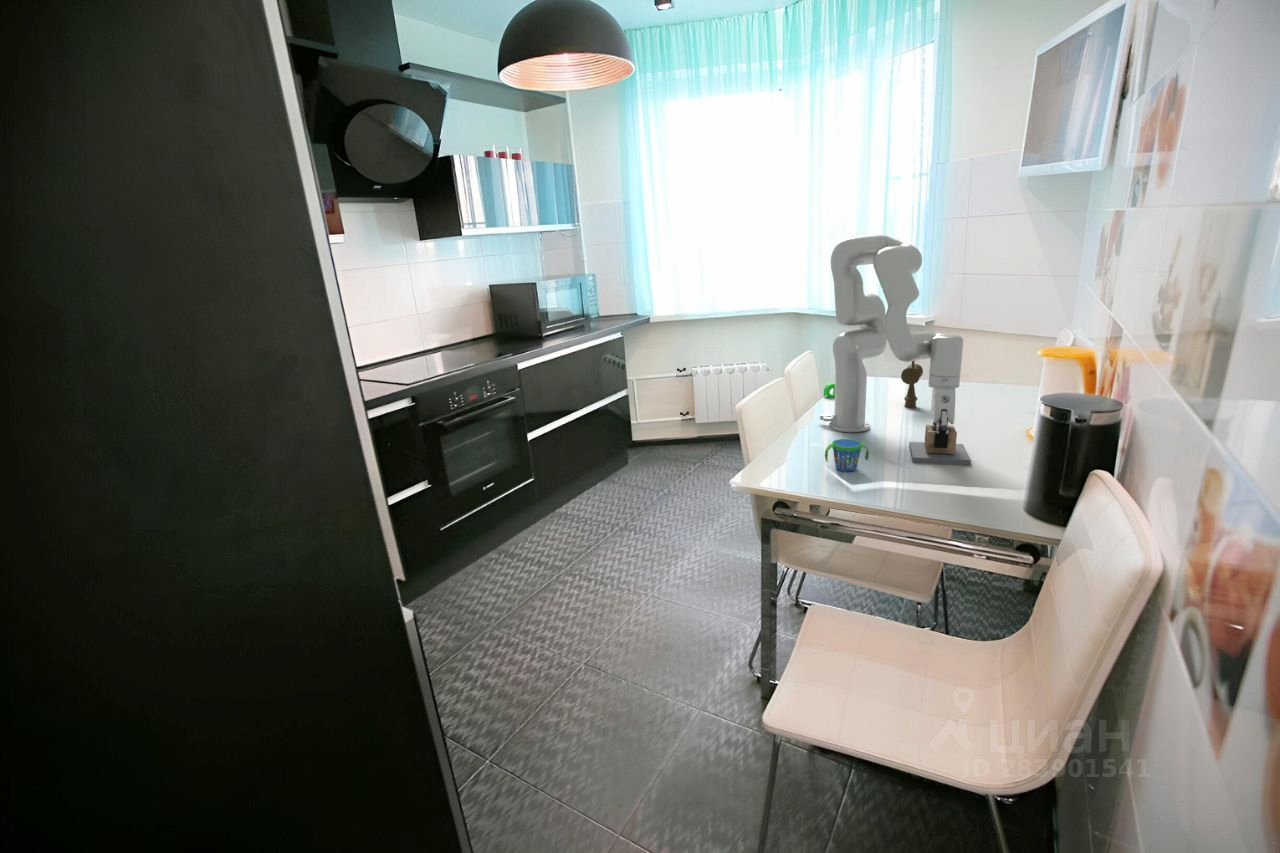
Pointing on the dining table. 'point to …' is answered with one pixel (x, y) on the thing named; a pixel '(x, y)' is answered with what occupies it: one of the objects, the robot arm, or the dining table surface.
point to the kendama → (911, 383)
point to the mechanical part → (827, 390)
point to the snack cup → (846, 454)
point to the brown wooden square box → (930, 440)
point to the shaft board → (938, 455)
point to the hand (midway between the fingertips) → (939, 442)
